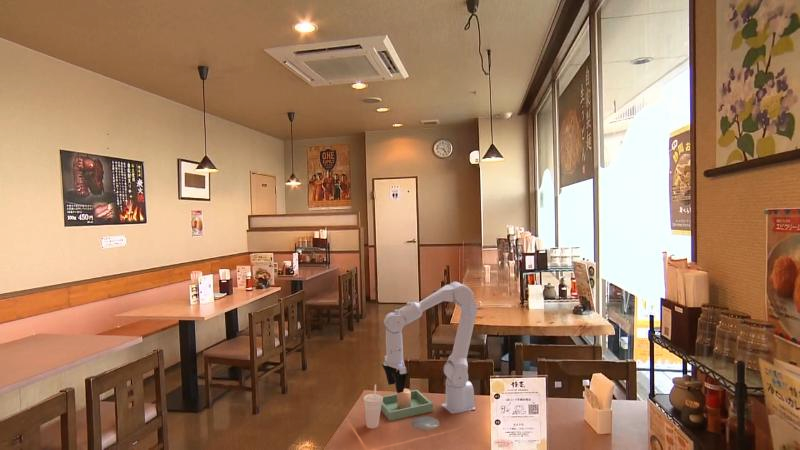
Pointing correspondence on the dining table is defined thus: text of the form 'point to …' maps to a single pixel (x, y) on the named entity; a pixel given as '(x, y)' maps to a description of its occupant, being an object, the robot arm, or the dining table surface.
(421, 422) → the saucer
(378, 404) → the smoothie
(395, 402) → the pale green open box
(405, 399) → the salmon pink cylinder
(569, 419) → the dining table surface
